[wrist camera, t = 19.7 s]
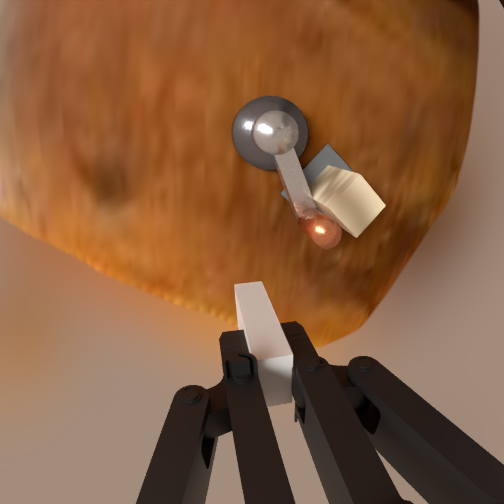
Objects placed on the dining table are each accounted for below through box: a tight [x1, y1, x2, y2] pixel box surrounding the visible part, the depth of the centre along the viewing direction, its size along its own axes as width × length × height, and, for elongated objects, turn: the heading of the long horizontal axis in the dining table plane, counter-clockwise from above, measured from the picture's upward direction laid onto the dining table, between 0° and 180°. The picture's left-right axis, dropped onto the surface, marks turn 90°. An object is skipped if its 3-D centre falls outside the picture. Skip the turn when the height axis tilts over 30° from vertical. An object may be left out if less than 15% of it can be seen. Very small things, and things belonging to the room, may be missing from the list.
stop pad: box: [281, 144, 353, 213], centre depth 42 cm, size 9×9×1 cm
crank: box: [251, 111, 342, 249], centre depth 34 cm, size 15×5×8 cm, turn 23°
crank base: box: [232, 96, 308, 170], centre depth 37 cm, size 9×9×2 cm
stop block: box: [308, 165, 386, 238], centre depth 38 cm, size 5×5×9 cm
